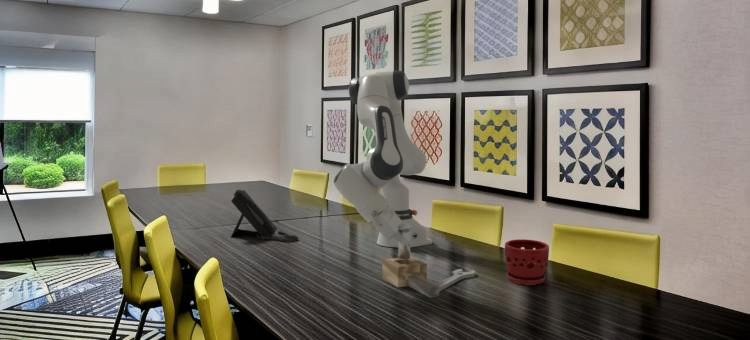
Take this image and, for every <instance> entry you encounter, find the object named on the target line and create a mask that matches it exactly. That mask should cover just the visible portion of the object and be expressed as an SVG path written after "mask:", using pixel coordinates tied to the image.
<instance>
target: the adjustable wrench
mask: <svg viewBox="0 0 750 340" xmlns="http://www.w3.org/2000/svg"><path fill="white" fill-rule="evenodd" d="M451 273H452V276H449V277H448V278H446V279H443V280H442V281H440V282H438V283H435V284H436V285H438V286H439V292H441V291H443V290H444V289H446V288H448V287H450V286H452V285H454V284H455V283H457V282H458V281H461V280H463V279H464V278H465V279H469V278H470V277H471V278H475V277H476V271H475V270H474V269H470V271H463V268H458V269H455V270H453V271H451ZM471 278H470V279H471ZM465 279H464V280H465Z"/></svg>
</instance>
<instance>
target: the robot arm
mask: <svg viewBox="0 0 750 340" xmlns="http://www.w3.org/2000/svg"><path fill="white" fill-rule="evenodd" d="M347 90H348V96H349V99H350V100H351V102H352V103H353V104H354V105H356V106H357V108H356V110H357V111H356V113H357V118H358V121H359V122H360V124H361V125H362V126H364V127H365V128H366V129H367V128H368V129H371V130H374V133H375V143H376V144H375V147H372V148H371V149H369V151H368V152H367V155H366V160H365V161H363V162H360V163H352V164H351V163H346V164H344V165H343V166H342V168H341V169H340V170H339V171H338V172H337V174H336V175H335V176H334V179H333V185H334V186H335V188H336V190H337V191H338V192H339V193H340V194H341V195H342V196H343V198H344V199H345V200H346V201H347V202H348V203H350V204H351V205H353V206H354V208H355V209H356V211H357V212H358V213H359V215H360V216H361V217H362V218H363V219H364V220H365V222H367V223H369V224H370V223H371V222H372V224H373V226H374V227H375V228H376V229H377V230H378V237H377V241H376V244H377V245H379V246H382V247H388V248H398V243H399V242H400V243H401V244H402V245H403V246H405V245H406V244H407V242H408V241H407V240H406V239H405V237H403V236H402V235H401V234H400V232H399V226H398V225H399V224H409V225H412V229H411V235H410V249H411V248H417V247H422V246H427V245H432V244H433V240H432V239H430V238H428V236H427V231H426V230H427V229H426V228H425V226H424V225H423V224H421V223H419V222H418V220H416V219H415V218H414V217H413V216H417V215H418V211H417V210H415V209H412V210H411V209H410V191H409V188H408V186H406V185H405V183H403V182H402V181H401V180H400V177H399V175H401V176H414V175H420V174H422V173H423V171H424V170H425V168H426V166H427V156H426V154H425V152H424V150H422V149H420V148H419V147H418V146H417V145H416V144H415V143H414V142H413V141H412V139H411V138H410V136H409V135H408V133H407V131H406V126H405V123H404V122H405V121H404V117H403V112H402V107H401V103H400V101H401V100H403V99H404V98H406V97H407V95H409V90H410V82H409V79H408V77H407V75H406V73H405V72H404V71H403V70H398V69H397V70H396V69H395V70H393V71H391V70H390V71H388V70H387V71H378V72H375V73H371V74H366V75H363V76H356V77H354V78H351V79H350V81H349V83H348V89H347ZM379 190H380V192H379Z"/></svg>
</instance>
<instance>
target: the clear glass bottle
mask: <svg viewBox="0 0 750 340" xmlns="http://www.w3.org/2000/svg"><path fill="white" fill-rule="evenodd" d="M398 226H399V232H400V234H401V235H402V236H403V237H405V239H406V240H407V241H408V242H407V244H406V245H405V246H403V245H402V244H401V243H400V242H399V243H398V247H397V249H398V251H397V253H398V254H397V258H399V259H409V258H410V257H411V248H410V235H411V229H412V225H409V224H399V225H398Z"/></svg>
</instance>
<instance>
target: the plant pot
mask: <svg viewBox="0 0 750 340" xmlns="http://www.w3.org/2000/svg"><path fill="white" fill-rule="evenodd" d="M549 253H550V245H548V244H547V243H546V242H543V241H541V240H534V239H512V240H511V239H510V240H508V241H506V242H505V243H504V259H505V264H506V265H505V266H506V268H507V270H508V271H507V272H506V278H507V279H508V280H509V281H511V282H513V283H515V284H517V283H518V285H522V284H524V285H523V286H537V285H536V284H539V285H540V283H541V284H542V283H544V282H545V281H546V275H545V274H544V273H545V272H546V270H547V267H548V264H549V258H550V257H549V255H550V254H549Z"/></svg>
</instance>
